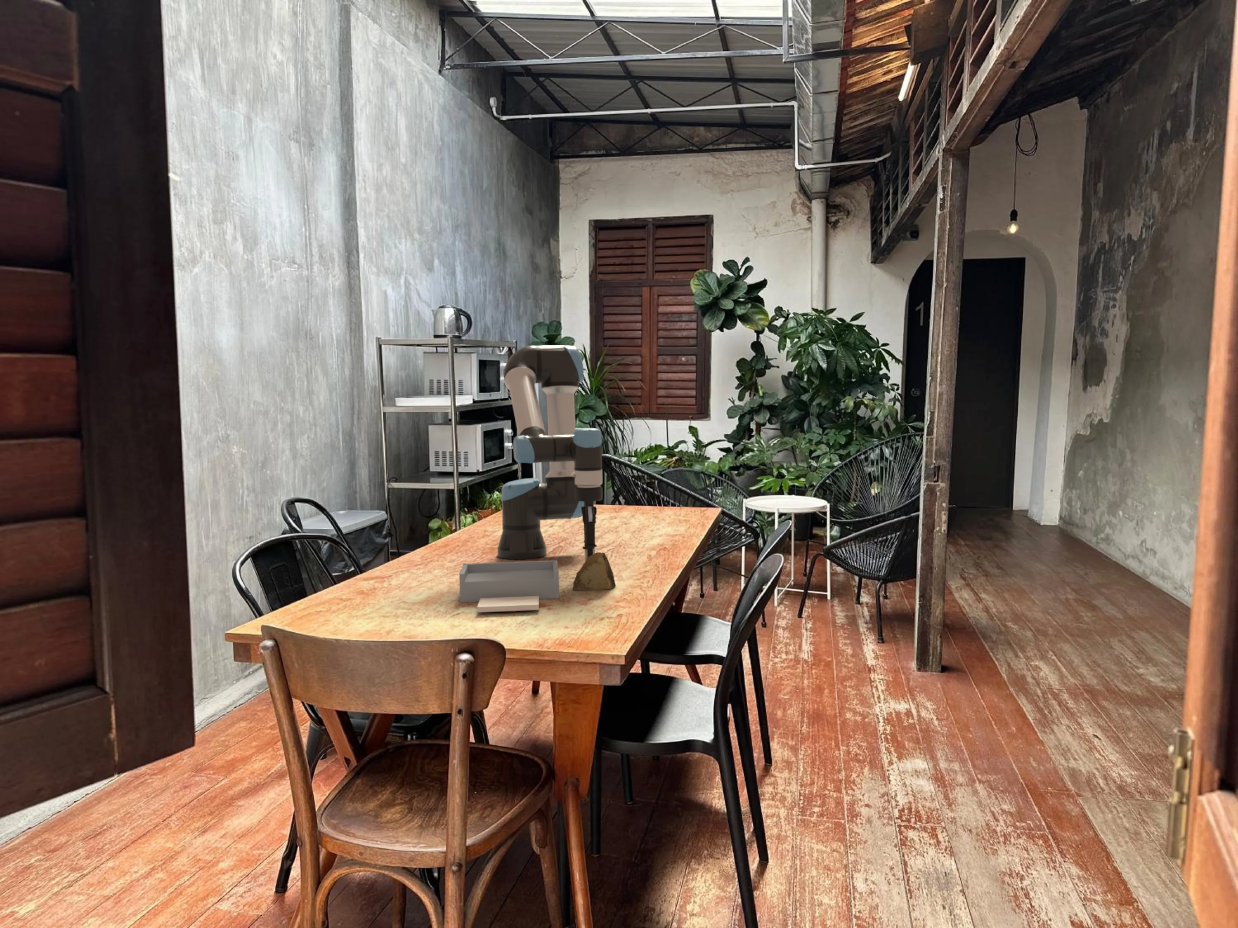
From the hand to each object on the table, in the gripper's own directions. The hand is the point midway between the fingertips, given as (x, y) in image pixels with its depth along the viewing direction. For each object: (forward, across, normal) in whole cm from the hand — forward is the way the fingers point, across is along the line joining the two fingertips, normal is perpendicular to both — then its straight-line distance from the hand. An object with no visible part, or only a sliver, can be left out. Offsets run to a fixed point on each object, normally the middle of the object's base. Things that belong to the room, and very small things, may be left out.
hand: (590, 571), depth 230 cm
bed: (+2, +16, -21) cm, 26 cm away
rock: (+2, +13, 0) cm, 13 cm away
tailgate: (+2, +23, -21) cm, 31 cm away
